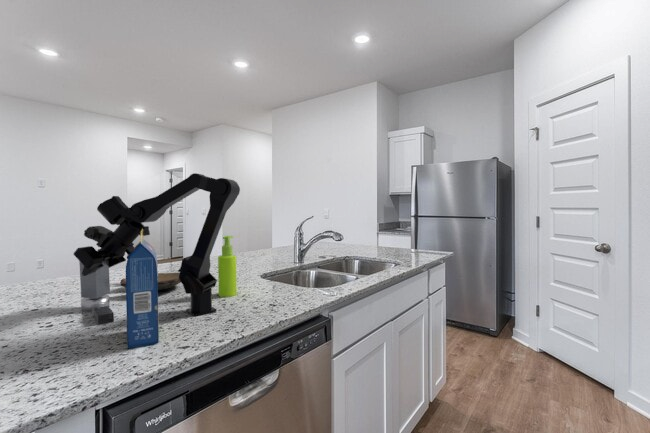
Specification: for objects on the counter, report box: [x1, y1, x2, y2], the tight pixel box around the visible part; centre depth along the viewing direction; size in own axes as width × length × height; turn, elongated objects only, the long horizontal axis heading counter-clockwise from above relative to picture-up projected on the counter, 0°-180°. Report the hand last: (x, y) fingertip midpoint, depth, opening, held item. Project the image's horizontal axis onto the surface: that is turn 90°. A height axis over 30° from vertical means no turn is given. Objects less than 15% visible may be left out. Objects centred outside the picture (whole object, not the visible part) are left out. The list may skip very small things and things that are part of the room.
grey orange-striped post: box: [78, 250, 111, 299], centre depth 99 cm, size 5×5×13 cm
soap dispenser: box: [217, 235, 238, 298], centre depth 113 cm, size 6×7×20 cm
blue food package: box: [125, 228, 160, 349], centre depth 77 cm, size 6×12×25 cm, turn 27°
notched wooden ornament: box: [119, 272, 182, 291], centre depth 122 cm, size 22×30×8 cm
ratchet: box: [80, 294, 115, 326], centre depth 94 cm, size 21×7×6 cm, turn 42°
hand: (90, 272), depth 99 cm, fingers closed on grey orange-striped post, 5 cm apart
